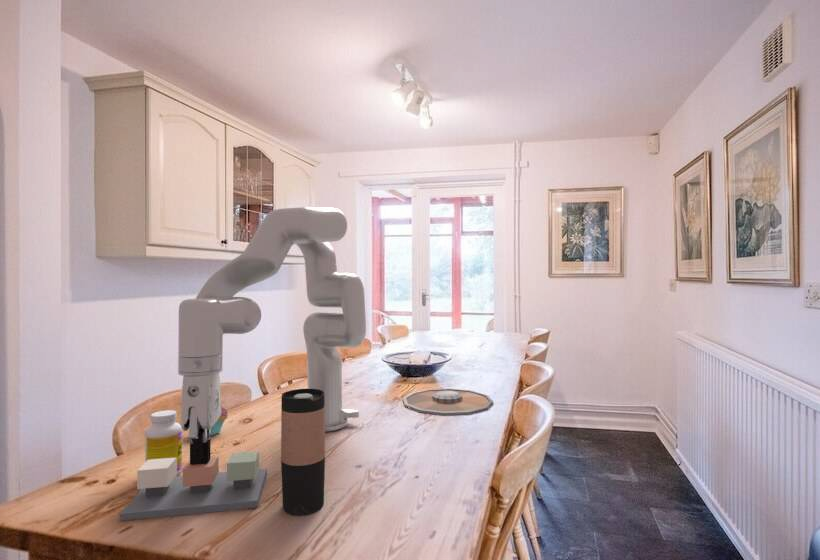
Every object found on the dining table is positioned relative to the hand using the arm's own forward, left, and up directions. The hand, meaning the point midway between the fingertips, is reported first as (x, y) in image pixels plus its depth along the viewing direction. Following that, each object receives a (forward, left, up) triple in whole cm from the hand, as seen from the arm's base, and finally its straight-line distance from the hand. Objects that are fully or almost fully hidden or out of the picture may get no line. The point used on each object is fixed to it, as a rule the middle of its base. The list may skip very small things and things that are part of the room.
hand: (200, 462), depth 83 cm
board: (0, 0, -6) cm, 6 cm away
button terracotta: (0, 0, -3) cm, 3 cm away
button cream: (+7, 0, -3) cm, 8 cm away
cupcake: (+7, -37, -6) cm, 38 cm away
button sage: (-8, 0, -3) cm, 8 cm away
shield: (-63, -53, -7) cm, 83 cm away
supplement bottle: (+10, -11, -6) cm, 16 cm away
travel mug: (-19, +8, -6) cm, 22 cm away
